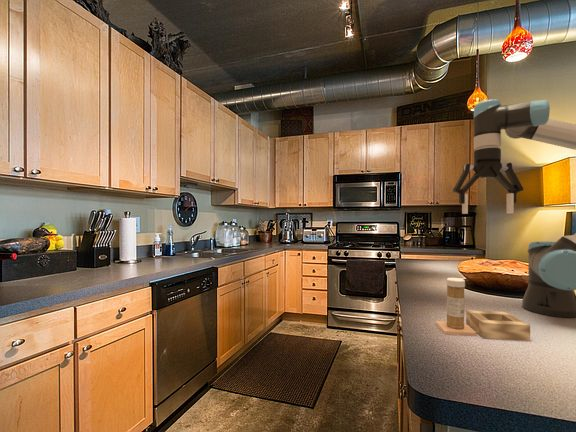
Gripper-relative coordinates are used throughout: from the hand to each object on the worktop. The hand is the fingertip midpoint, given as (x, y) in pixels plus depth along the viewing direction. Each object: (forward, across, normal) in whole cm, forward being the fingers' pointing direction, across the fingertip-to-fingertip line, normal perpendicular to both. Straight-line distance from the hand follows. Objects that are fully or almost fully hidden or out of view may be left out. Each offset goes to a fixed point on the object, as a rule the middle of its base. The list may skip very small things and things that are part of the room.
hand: (487, 213), depth 101 cm
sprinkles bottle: (+32, +16, +18) cm, 40 cm away
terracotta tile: (+33, +16, +18) cm, 40 cm away
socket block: (+33, +6, +18) cm, 37 cm away
